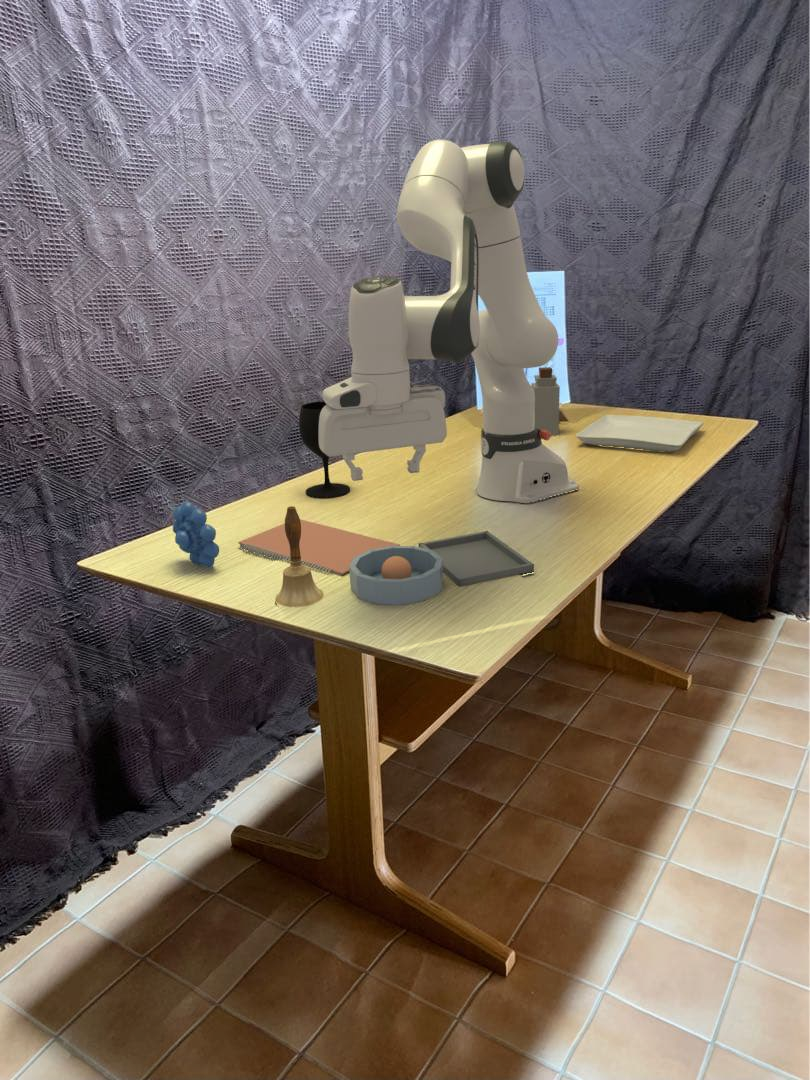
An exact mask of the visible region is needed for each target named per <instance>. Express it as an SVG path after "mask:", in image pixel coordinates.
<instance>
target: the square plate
mask: <svg viewBox="0 0 810 1080" xmlns="http://www.w3.org/2000/svg"><path fill="white" fill-rule="evenodd" d="M702 426H704V422H702V421H693V420H687V419H676V418H669V417H668V418H666V417H657V416H646V415H645V416H642V415H628V414H627V415H624V414H623V415H622V414H620V415H619V414H604V415H603V416H601V417H599V418H598V419H597V420H595V421H593V422H592V423H591V424H589V425H588V426H586V427H585V428H584V429H582V430H580V431H579V432H578V433H577V434H575V437H576V438H577V439H578V440H579V441H581V442H582V443H584V444H588V445H594V446H597V445H602V446H613V447H624V448H634V449H643V450H650V451H649V452H653V451H661V452H660V453H663V452H662V451H668V452H670V453H672V452H676V451H679V450H680V449H681V448H682V447H683V446H684V444H685V443H686V442H687V441H688V440H689V439H690V438H692V436H694V435H695V434H696V433H697V432H698V431H699V430H700V429H701V428H702Z"/></svg>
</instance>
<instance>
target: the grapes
mask: <svg viewBox="0 0 810 1080" xmlns="http://www.w3.org/2000/svg"><path fill="white" fill-rule="evenodd" d="M207 517H208V516H207V513H206V512H205V511H203V510H202V509H200V508H198V507H196V506H195V505H194V504H193V503H191V502H189V501H183V502H182V503H181V504H180V505H177V506H175V507H174V509H173V511H172V518H173V519H174V522H173V523H172V524H173V525H172V532H173V533H174V534H175V537H174V542H175V543H176V545H178V546H179V547H178V548H179V549H180V550H181V551H183V552H184V553H187V554H189V561H191V562H192V563H193V564H195V565H196V564H197V565H196V566H203V567H206V568H213V566H214V564H215V559H216V558H218V556H219V553H220V546H219V545H218V544H217V543H216V542H214V540H216V536H217V530H216V529H215V527H213V526H212V525H210V524H208V523H207V519H208V518H207Z"/></svg>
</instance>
